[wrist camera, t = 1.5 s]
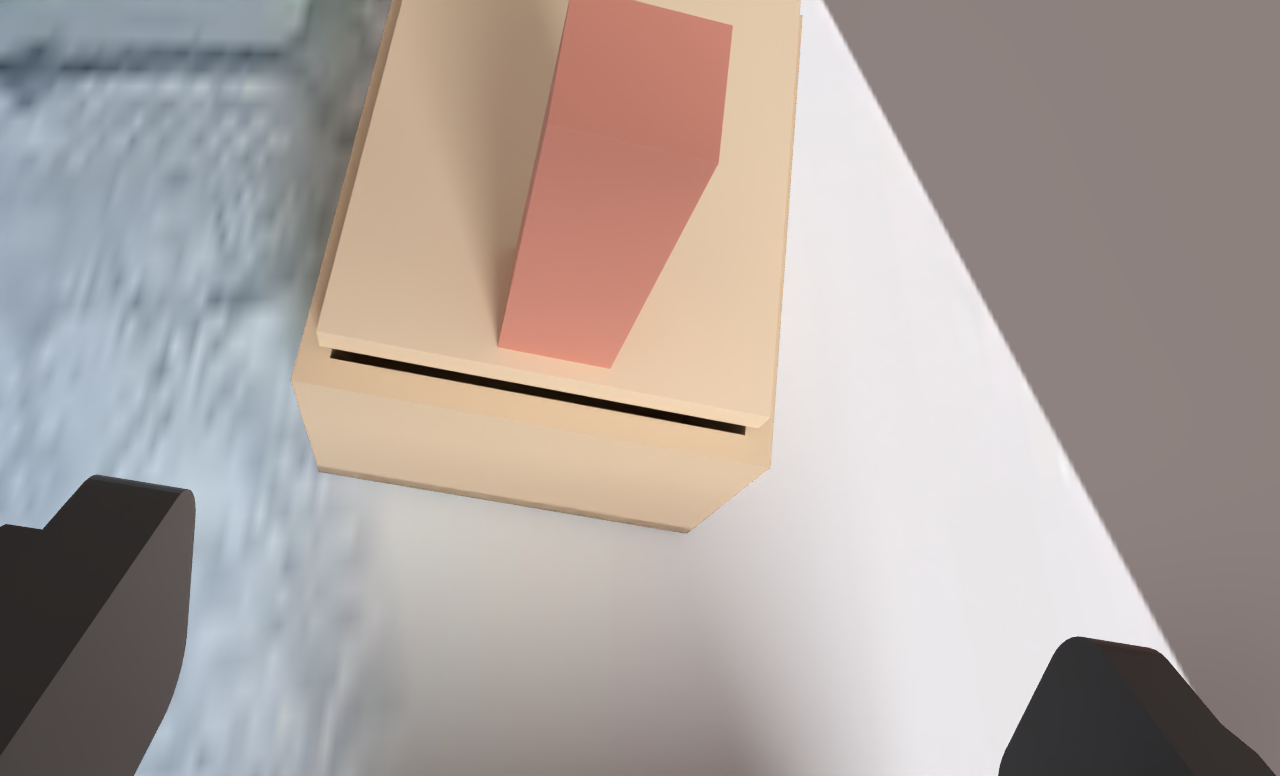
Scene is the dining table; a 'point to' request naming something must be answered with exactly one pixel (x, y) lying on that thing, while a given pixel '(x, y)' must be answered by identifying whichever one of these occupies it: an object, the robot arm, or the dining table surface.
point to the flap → (577, 199)
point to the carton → (515, 419)
